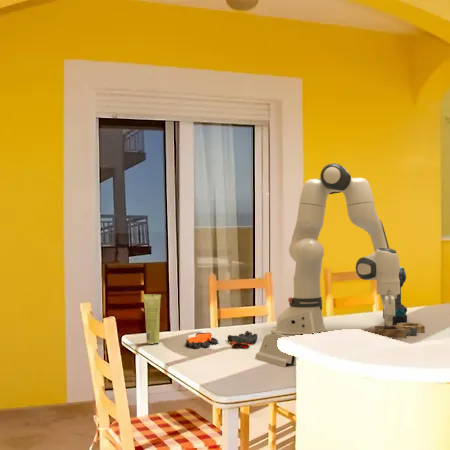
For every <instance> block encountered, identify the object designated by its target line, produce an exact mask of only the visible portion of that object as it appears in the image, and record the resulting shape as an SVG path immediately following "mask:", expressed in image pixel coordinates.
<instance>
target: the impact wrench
mask: <svg viewBox="0 0 450 450" xmlns="http://www.w3.org/2000/svg"><path fill="white" fill-rule="evenodd" d="M399 269H400V271H399V280H400V294H398V295H397V298H396V299H395V316H393V318H392V320H393V325H397V323H408V315H407V312H408V309H407V307H406V306H405V305H404V304H402V287H403V285H404V283H405V282H406V281H407V273H406V271H405V268H404V267H402V266H400V265H399Z"/></svg>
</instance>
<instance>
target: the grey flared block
mask: <svg viewBox="0 0 450 450" xmlns="http://www.w3.org/2000/svg"><path fill="white" fill-rule="evenodd" d="M281 337H288V335H285V334H274V333H272V334H267V335H265V336H264V337H263V339H262V342H261V346H260V348H259V350H258V352H256V353H255V357H254V359H255V360H257V361H261V362H266V363H269V364H271V365H276V366H278V367H282V368H286V365H287V364H289V365H294V366H297V364H296V357H294V356H291V355H288V354H286V353H283V352H281V351H280V350H279V349H278V347H277V340H278V338H281Z"/></svg>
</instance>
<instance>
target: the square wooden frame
mask: <svg viewBox="0 0 450 450" xmlns="http://www.w3.org/2000/svg"><path fill="white" fill-rule="evenodd" d="M397 325H400V326H402V327H403V328H404V329H405V330H410V327H416V328H417V334H419V333H422V334H424V333H426V329H425V327H426V326H425V325H424V324H422V323H421V322H407V323H397V324H396V326H397Z"/></svg>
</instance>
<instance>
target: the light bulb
mask: <svg viewBox="0 0 450 450" xmlns="http://www.w3.org/2000/svg"><path fill="white" fill-rule="evenodd" d="M383 323H384V324H383V326H384V329H393V326H394V324H393V320H392V326H388V325H387V316H386V315H385V312H384V318H383Z"/></svg>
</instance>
